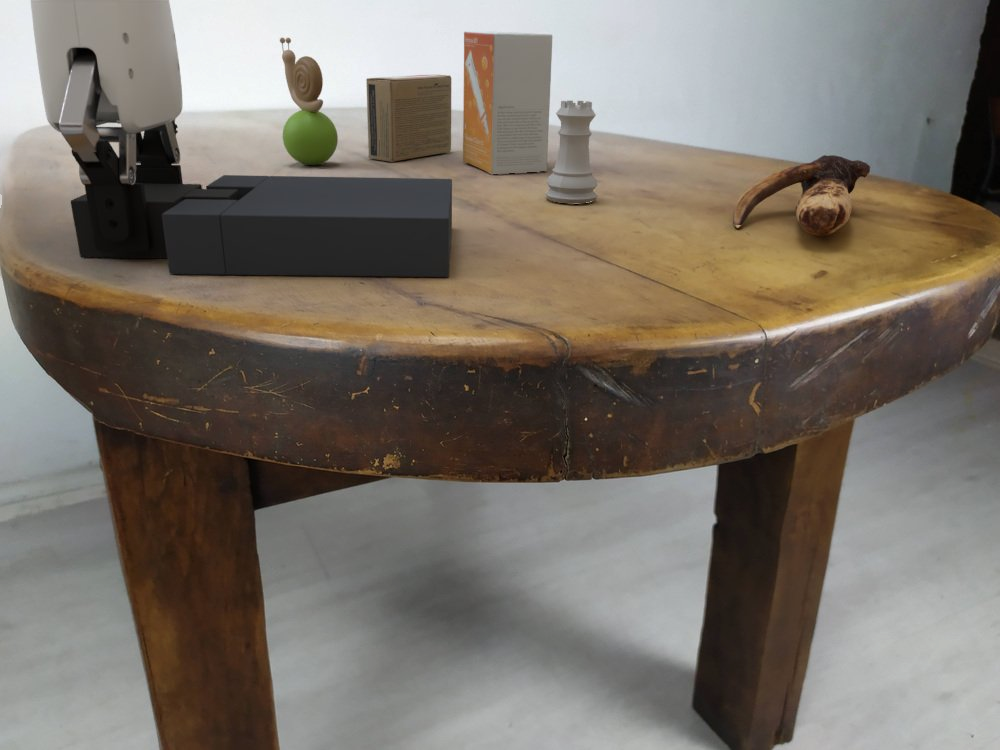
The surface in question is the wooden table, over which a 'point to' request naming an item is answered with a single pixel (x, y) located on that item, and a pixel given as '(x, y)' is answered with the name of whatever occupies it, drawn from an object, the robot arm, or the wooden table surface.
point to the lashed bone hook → (811, 193)
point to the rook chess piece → (573, 156)
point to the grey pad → (314, 228)
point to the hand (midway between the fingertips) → (144, 234)
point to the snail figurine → (307, 112)
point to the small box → (506, 101)
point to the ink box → (408, 116)
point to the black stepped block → (157, 204)
